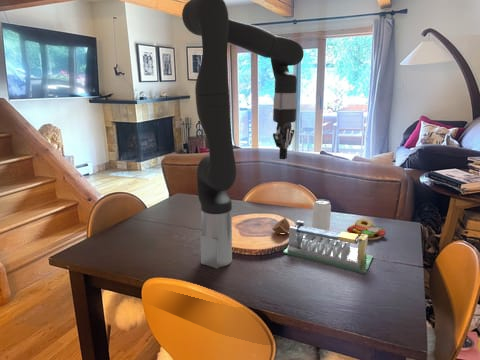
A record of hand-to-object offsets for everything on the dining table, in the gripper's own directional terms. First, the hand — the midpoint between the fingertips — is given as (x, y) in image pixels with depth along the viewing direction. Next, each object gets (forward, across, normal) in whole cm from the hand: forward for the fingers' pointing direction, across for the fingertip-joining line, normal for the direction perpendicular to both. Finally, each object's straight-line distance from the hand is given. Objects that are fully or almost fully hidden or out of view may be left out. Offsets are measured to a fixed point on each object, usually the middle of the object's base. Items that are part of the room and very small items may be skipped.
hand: (283, 158), depth 121 cm
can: (+29, -12, +11) cm, 33 cm away
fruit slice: (+29, -3, -1) cm, 29 cm away
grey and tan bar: (+23, +5, +18) cm, 29 cm away
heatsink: (+29, +5, +19) cm, 35 cm away
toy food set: (+30, -19, +26) cm, 44 cm away
